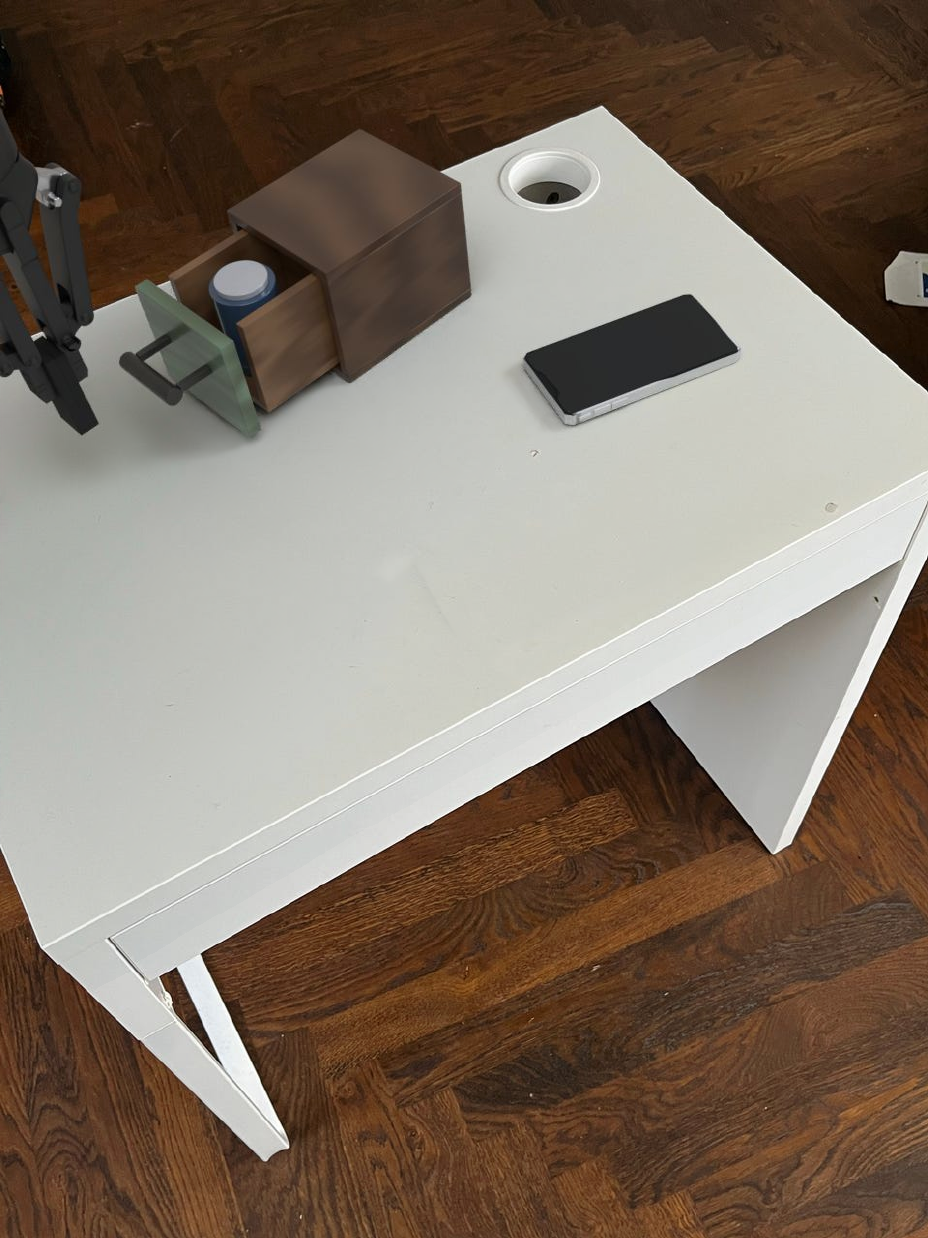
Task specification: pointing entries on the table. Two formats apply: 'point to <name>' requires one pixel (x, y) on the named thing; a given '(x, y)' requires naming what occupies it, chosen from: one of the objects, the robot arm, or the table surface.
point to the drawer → (271, 336)
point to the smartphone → (630, 358)
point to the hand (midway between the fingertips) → (79, 420)
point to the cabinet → (368, 242)
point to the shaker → (241, 298)
